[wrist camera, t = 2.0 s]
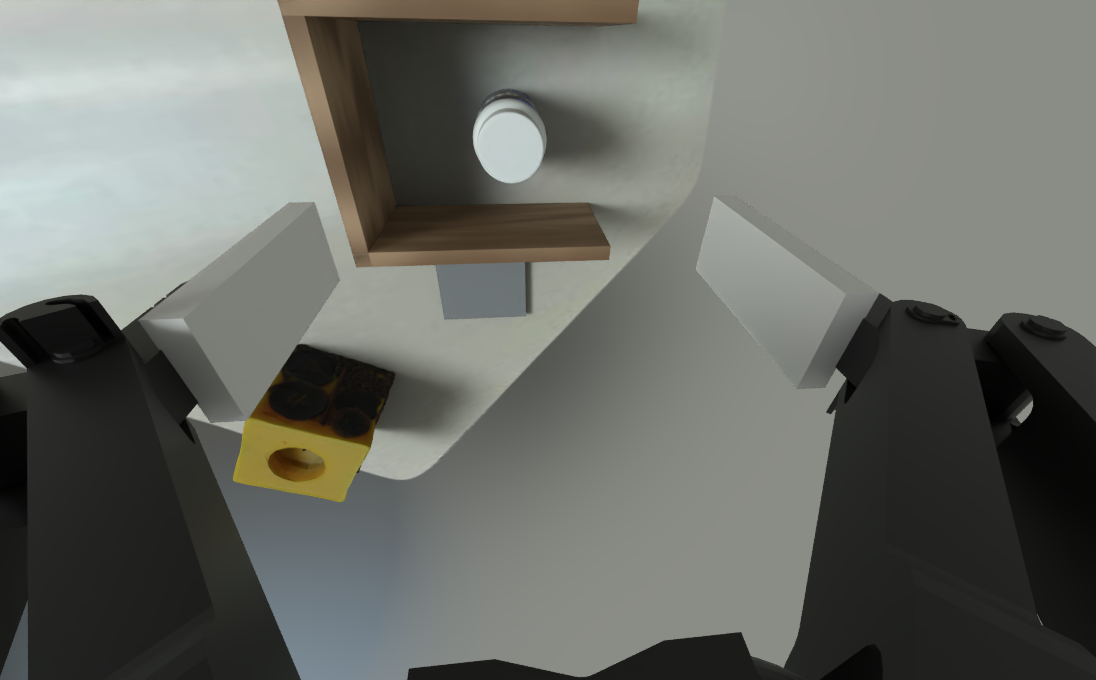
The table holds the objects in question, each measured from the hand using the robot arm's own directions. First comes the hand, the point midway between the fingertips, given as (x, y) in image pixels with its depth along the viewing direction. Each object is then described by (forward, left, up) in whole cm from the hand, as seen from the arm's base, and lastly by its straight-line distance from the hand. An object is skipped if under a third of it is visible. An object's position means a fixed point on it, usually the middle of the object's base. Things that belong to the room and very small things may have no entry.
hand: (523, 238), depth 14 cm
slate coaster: (+13, -3, -21) cm, 25 cm away
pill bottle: (0, 0, -21) cm, 21 cm away
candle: (+26, -20, -22) cm, 39 cm away
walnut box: (0, -2, -21) cm, 21 cm away
